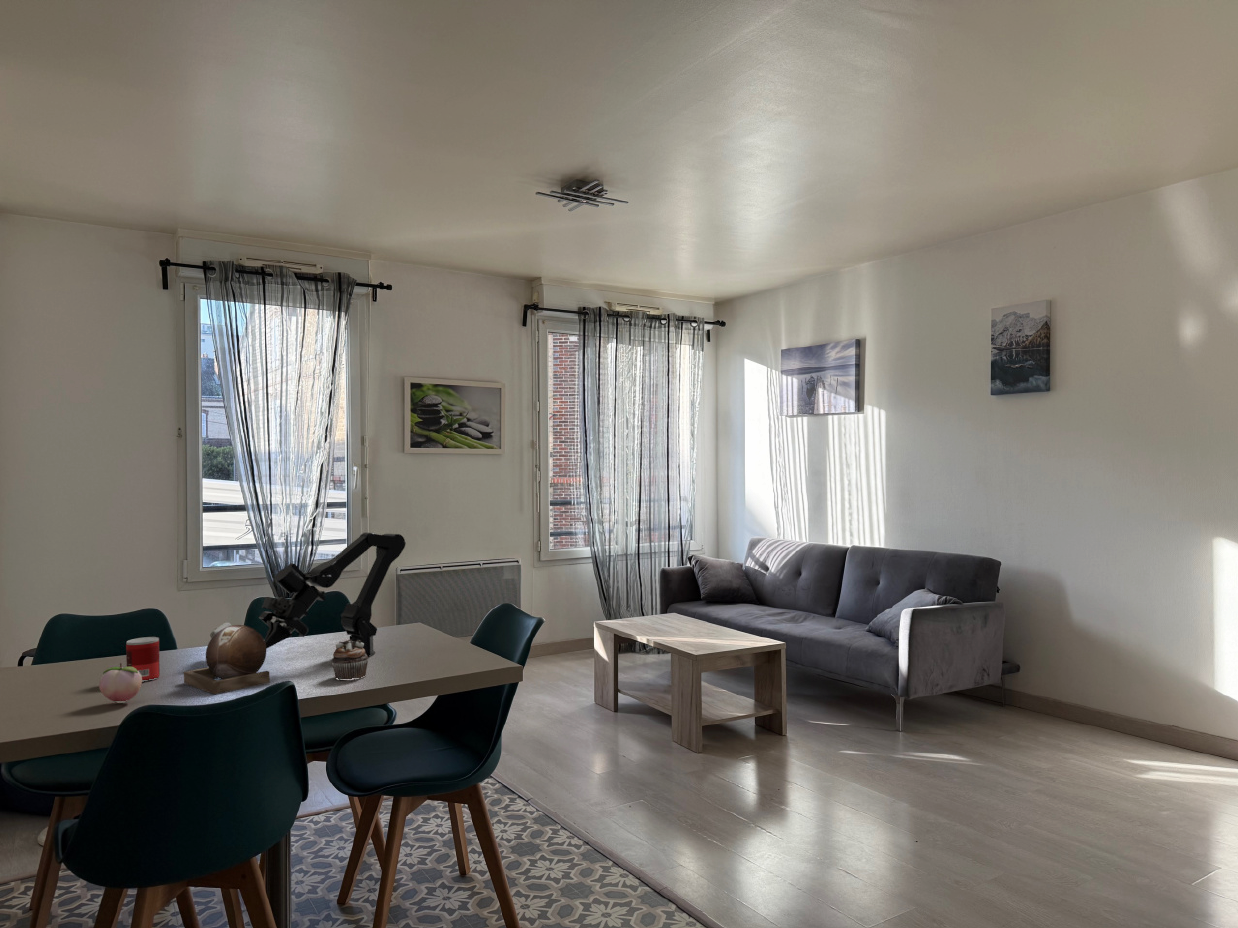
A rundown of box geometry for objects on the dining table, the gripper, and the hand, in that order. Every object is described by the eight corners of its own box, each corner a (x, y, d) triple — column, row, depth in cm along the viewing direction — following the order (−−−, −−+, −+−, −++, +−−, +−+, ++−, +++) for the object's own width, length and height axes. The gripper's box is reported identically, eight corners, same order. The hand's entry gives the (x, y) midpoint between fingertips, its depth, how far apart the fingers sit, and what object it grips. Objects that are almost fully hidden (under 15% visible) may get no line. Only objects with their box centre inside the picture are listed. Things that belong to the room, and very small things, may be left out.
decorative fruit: (150, 698, 217) (149, 658, 217) (132, 707, 208) (131, 665, 208) (112, 699, 216) (111, 659, 216) (93, 708, 208) (92, 667, 208)
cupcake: (324, 680, 231) (323, 643, 231) (348, 672, 240) (347, 636, 240) (353, 683, 227) (352, 645, 227) (376, 674, 236) (375, 638, 236)
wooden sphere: (199, 689, 224) (198, 632, 224) (214, 676, 238) (213, 622, 239) (260, 685, 227) (259, 628, 227) (271, 672, 241) (270, 619, 241)
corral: (237, 672, 242) (237, 661, 242) (269, 682, 230) (269, 671, 230) (184, 683, 232) (183, 671, 232) (214, 694, 219) (214, 682, 219)
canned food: (166, 676, 239) (165, 637, 239) (141, 684, 232) (140, 643, 232) (145, 675, 242) (144, 636, 242) (120, 682, 234) (119, 641, 234)
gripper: (265, 583, 249) (227, 626, 240) (297, 588, 236) (258, 634, 228) (291, 607, 254) (255, 650, 246) (324, 613, 242) (287, 659, 234)
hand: (263, 648), depth 238 cm, fingers closed, pressing on wooden sphere
